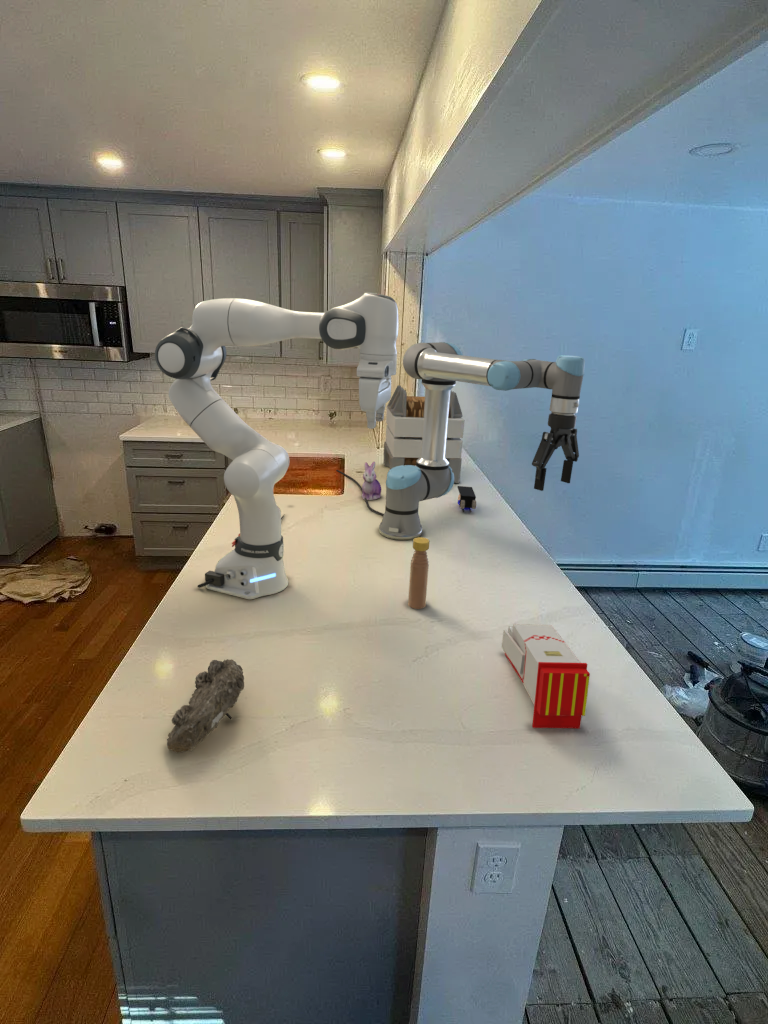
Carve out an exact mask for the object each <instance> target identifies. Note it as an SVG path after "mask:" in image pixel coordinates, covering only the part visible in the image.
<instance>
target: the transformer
mask: <svg viewBox="0 0 768 1024" xmlns="http://www.w3.org/2000/svg"><path fill="white" fill-rule="evenodd" d="M407 394H408V393H407V390H406V389H404V388H403V387H402V385H399V384H398V385H397V386H396V388H395V390H394V392H393V394H392V395H391V398H390V400H389V401H388V402H387V403H388V404H387V405H386V413H385V414H386V415H385V423H386V428H385V438H384V442H383V466H384V467H388V468H389V470H390V469H392V468H394V467H396V466H401V465H404V466H405V465H413V466H416V461H417V459H418V458H420V457H421V449H422V434H423V419H424V404H425V396H415V395H414V396H413V395H412V396H411V395H407ZM464 429H465V419H464V418H463V411H462V408H461V405H460V402H459V398H458V395H457V392H455V391H453V390H451V392H450V404H449V416H448V428H447V441H446V453H445V458H446V459H447V461H448V462H449V466H450V467H451V469H452V473H454V484H455V483H456V484H459V483H461V472H462V461H463V460H462V453H463V442H464V441H463V440H462V439H463V438H464V431H465V430H464Z"/></svg>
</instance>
